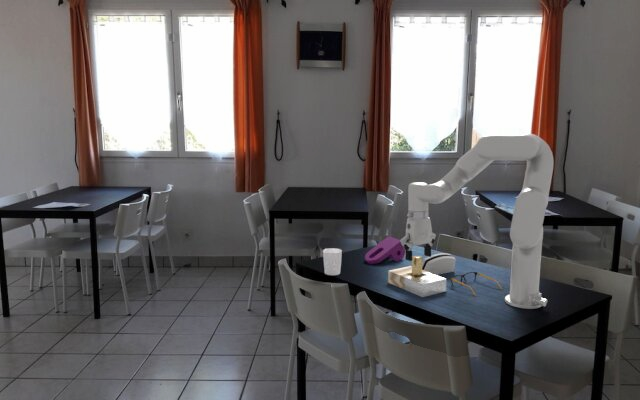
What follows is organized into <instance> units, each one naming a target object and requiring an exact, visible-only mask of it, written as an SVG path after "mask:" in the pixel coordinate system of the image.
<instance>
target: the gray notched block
mask: <svg viewBox="0 0 640 400" xmlns="http://www.w3.org/2000/svg"><path fill="white" fill-rule="evenodd" d="M405 291H407V292H409V293H411V294H414V295H417V296H419V297H421V298H425V297H429V296H433V295H437V294H441V293H444V292H447V278H445V277H442V276H440V275H439V274H438V275H435V274H432V273H429V272H426V273H422V277H418V278H415V277H412V276H408V277H405Z"/></svg>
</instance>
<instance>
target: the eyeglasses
mask: <svg viewBox="0 0 640 400" xmlns="http://www.w3.org/2000/svg"><path fill="white" fill-rule="evenodd" d="M468 274H474V279H473V282H475V281H476V279H477V276H480V277H482V278H487V279H489V280H491V281H495V282H496V284H497V285H498V287H499V288H500V290H503V287H502V286H501V284H500V283H499V281H497V280H495V279H493V278H492V277H489V276H487V275H485V274H482V273H480V272H478V271H471V272H466V273H465V274H464V273H463V274H461V275H460V274H456V275H453V276H451V277H450V283H451V285H452V286H454V284H453V282H456V283H459V284H460V285H463V286H465V287H468V288H469V289H470V291H471V292H472V293H473V295H474V296H475V297H476V296H477V295H476V293H475V291H474V290H473V288H472V287H471V286H470V285H467V284H466V283H467V280H466V277H465V276H466V275H468ZM454 277H460V280H458V279H455V278H454ZM462 281H464V282H465V283H463V282H462Z"/></svg>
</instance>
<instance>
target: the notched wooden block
mask: <svg viewBox="0 0 640 400" xmlns="http://www.w3.org/2000/svg"><path fill="white" fill-rule="evenodd" d="M387 272H388V276H387V284H390V285H392V286H395V287H396V288H400V289H402V290H405V277H408V276H412V265H408V266H405V267H400V268H394V269H390V270H388V271H387ZM426 272H427V271H424V270H422V273H426ZM405 291H406V290H405Z"/></svg>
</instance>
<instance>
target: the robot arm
mask: <svg viewBox="0 0 640 400" xmlns="http://www.w3.org/2000/svg"><path fill="white" fill-rule="evenodd" d="M495 161H506V162H507V161H512V162H514V161H515V162H521V161H522V162H525V161H526V170H525V171H524V179H523V185H522V189H521V191H520V193H519V194H518V196H517V198H516V199H515V203H514V208H513V215H512V218H511V223H510V229H509V237H510V240H511V242H512V249H511V250H512V251H511V264H510V265H511V266H510V283H509V286H510V287H509V294H507V295H506V296H505V297H504V302H505V303H506V304H508V305H509V306H511V307H515V308H518V309H527V310H533V309H534V310H536V309H539V308H541V307H546V306H547V303H548V299H547V298H543V297H542V292H540V280H541V279H540V276H541V262H542V250H543V239H544V226H543V224H544V220H545V214H546V209H547V207H548V204H549V196H550V189H551V185H552V177H553V171H554V165H555V164H554V155H553V151H552V150H551V147H550V145H549V144H548V143H547V142H546V141H545V140H544V139H543V138H541V137H540V136H539V135H537V134H535V133H523V134H514V135H512V134H511V135H510V134H509V135H507V134H506V135H504V134H502V135H501V134H500V135H499V134H496V133H489V134H486V135H482V136H481V137H479V139H478V140H477V142H476V144H475V145H473V147H470V149H469V150H468V151H467V152H466V153H464V154H463V155H462V156H461V157H459V159H458V160H457V161H456V163H455V165H454V166H453V168H451V170H449V172H448V173H446V174H445V175H444V176H443V177H442V178H440V180H438V181H436V182H434V183H430V184H428V183H426V182H421V181H420V182H419V181H418V182H417V181H415V182H411V183H409V184H408V189H407V191H408V197H407V199H408V202H407V203H408V209H407V210H408V213H407V214H406V216H407V220H406V226H405V227H406V228H405V235H404V236H403V237H402V238H401V239H399V240H400V242H401V244H402V247H403V248H404V250H405V260H406V261H409V262H412V257H413V250H412V249H413V247H414V246H416V247H418V246H423V245H424V247H423V248H424V249H423V251H424V253H423V254H424V256H425V257H431V256H432V247H433V243H434V242H435V239H436V237H437V234H436V233H434V232H433V228H432V221H431V218H430V217H429V204H435V205H438V204H442V203H443V202H445V201H446V200H448V199H449V198H451V197H452V196H453V195H455V193H457V192H458V191H459V190H460V189H461V188H463V187H464V186H465V185H466V184H467V183H468V182H470V181H472V180H473V179H474V178H476V176H477V175H478V174H480V173H481V172H482V171H483V170H485V169H486V168H487V167H488V166H489V165H491V164H492V163H493V162H495Z"/></svg>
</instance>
